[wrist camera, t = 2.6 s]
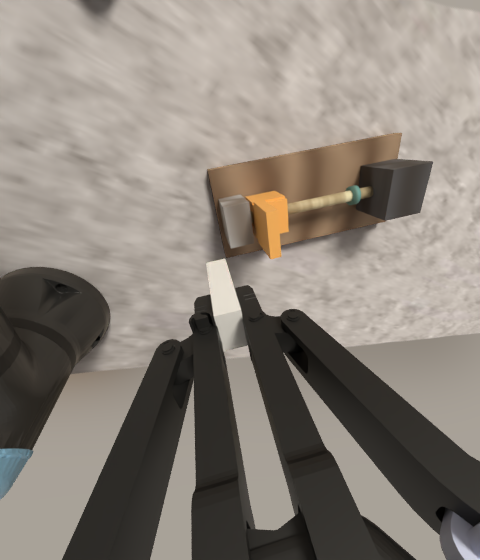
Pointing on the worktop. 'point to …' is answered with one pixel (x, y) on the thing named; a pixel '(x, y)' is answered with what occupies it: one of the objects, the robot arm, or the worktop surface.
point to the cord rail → (320, 190)
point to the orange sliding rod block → (269, 220)
